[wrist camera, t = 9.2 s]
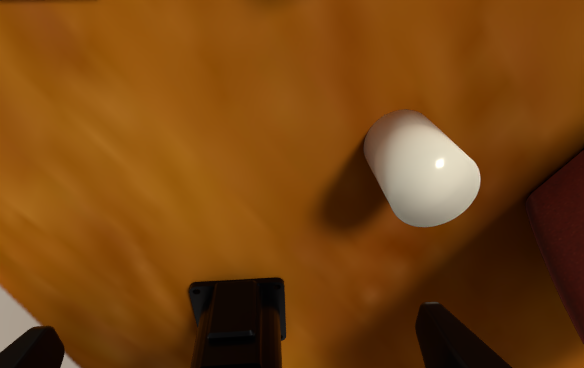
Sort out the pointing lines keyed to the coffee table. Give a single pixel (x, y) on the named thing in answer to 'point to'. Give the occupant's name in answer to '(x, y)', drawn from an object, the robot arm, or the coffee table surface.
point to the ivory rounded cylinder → (420, 169)
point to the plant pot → (562, 234)
